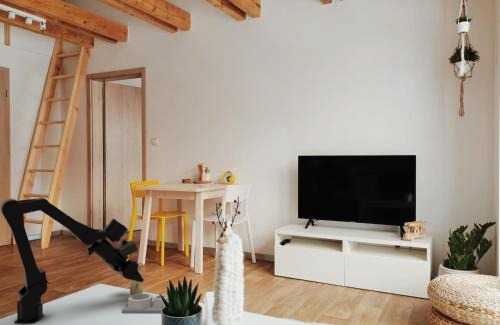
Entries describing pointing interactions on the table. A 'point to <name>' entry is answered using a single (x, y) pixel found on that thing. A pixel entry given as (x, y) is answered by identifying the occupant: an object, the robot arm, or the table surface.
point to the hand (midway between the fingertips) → (138, 278)
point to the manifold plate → (144, 303)
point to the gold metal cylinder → (135, 285)
